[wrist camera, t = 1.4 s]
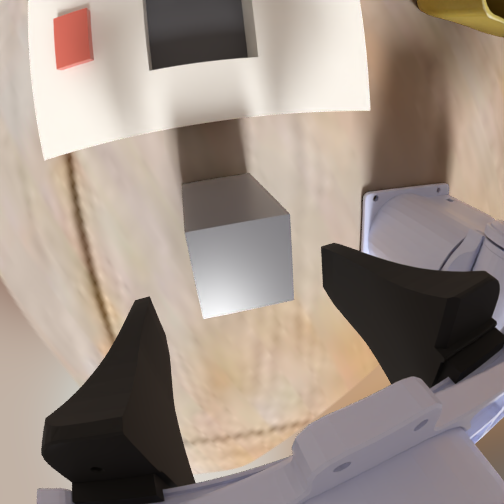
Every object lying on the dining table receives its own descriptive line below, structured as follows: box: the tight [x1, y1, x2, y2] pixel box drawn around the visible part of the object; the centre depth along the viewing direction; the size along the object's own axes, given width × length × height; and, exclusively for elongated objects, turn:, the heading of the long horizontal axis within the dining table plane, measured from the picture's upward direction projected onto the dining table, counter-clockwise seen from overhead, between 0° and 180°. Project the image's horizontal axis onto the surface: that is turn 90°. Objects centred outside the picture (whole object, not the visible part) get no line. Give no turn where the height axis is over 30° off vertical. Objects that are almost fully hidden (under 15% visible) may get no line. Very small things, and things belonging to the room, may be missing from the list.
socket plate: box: [28, 0, 370, 160], centre depth 15 cm, size 20×13×4 cm, turn 96°
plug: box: [182, 173, 294, 319], centre depth 18 cm, size 4×4×9 cm
